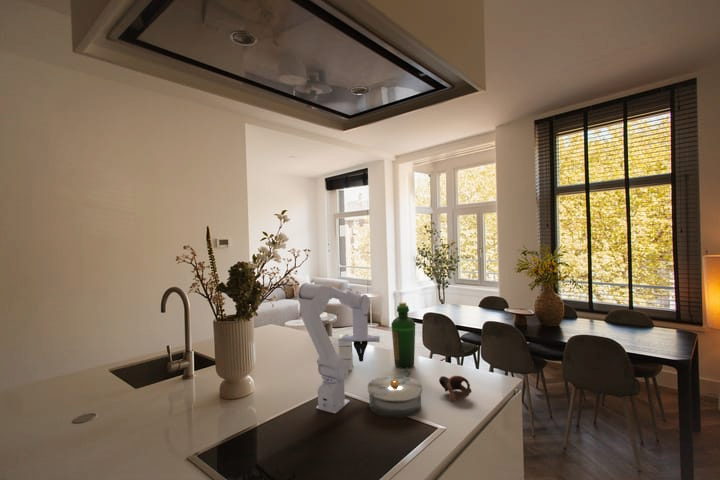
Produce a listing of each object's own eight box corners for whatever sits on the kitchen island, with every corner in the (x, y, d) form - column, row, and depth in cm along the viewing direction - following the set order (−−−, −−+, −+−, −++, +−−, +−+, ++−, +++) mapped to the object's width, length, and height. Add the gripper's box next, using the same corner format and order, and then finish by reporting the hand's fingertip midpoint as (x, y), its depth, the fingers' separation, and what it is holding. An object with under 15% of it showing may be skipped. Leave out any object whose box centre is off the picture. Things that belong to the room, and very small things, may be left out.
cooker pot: (412, 422, 106) (412, 406, 106) (361, 412, 114) (360, 397, 114) (430, 390, 128) (430, 377, 128) (386, 383, 135) (385, 371, 135)
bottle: (399, 359, 161) (398, 300, 161) (420, 364, 155) (418, 302, 155) (388, 367, 153) (386, 304, 152) (409, 372, 146) (407, 306, 146)
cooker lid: (413, 406, 106) (412, 397, 106) (359, 396, 113) (358, 388, 113) (431, 376, 128) (431, 368, 128) (385, 369, 136) (385, 362, 136)
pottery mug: (474, 394, 125) (476, 379, 121) (464, 415, 119) (466, 400, 115) (442, 379, 132) (443, 364, 127) (432, 398, 125) (432, 383, 121)
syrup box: (352, 370, 150) (351, 337, 150) (339, 370, 150) (338, 337, 150) (353, 365, 155) (352, 333, 155) (340, 366, 155) (339, 334, 155)
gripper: (379, 322, 136) (380, 356, 136) (342, 322, 137) (343, 356, 137) (378, 327, 129) (379, 363, 129) (340, 327, 130) (341, 363, 130)
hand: (361, 360), depth 132 cm, fingers closed
